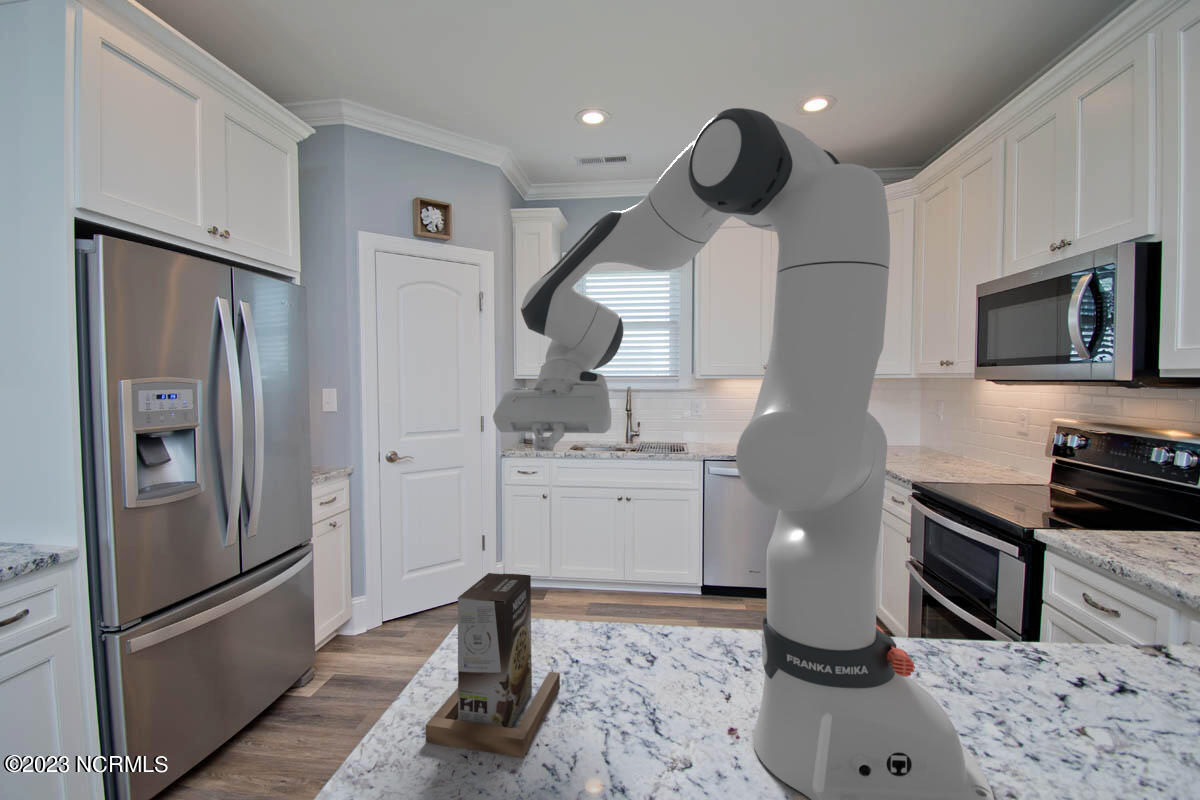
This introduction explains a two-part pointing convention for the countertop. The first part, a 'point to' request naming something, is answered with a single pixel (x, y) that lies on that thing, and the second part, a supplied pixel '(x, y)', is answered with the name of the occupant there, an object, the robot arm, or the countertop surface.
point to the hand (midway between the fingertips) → (542, 448)
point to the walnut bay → (490, 737)
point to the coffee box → (494, 649)
